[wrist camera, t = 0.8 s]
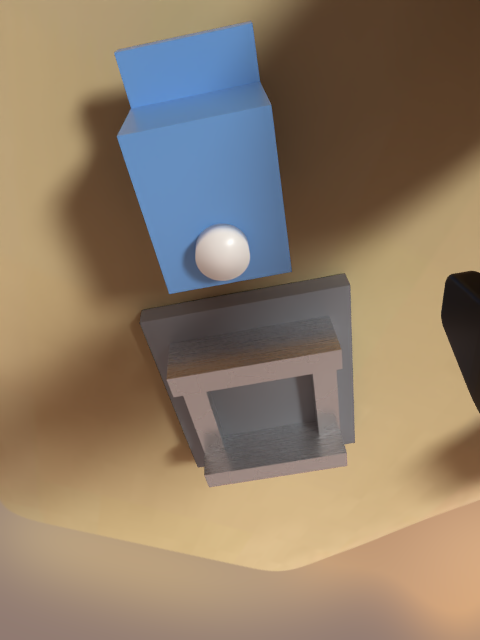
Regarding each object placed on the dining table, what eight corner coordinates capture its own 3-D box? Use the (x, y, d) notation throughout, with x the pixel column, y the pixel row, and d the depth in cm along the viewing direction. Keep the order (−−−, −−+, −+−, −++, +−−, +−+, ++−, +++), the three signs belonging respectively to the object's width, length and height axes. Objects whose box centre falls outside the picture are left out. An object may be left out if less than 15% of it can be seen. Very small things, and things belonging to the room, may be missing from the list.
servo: (244, 14, 15) (265, 38, 10) (274, 228, 20) (299, 319, 15) (128, 39, 15) (89, 76, 10) (186, 244, 20) (180, 340, 15)
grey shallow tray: (344, 273, 22) (365, 318, 19) (350, 429, 29) (366, 478, 26) (141, 310, 22) (132, 358, 19) (198, 454, 30) (197, 504, 27)
